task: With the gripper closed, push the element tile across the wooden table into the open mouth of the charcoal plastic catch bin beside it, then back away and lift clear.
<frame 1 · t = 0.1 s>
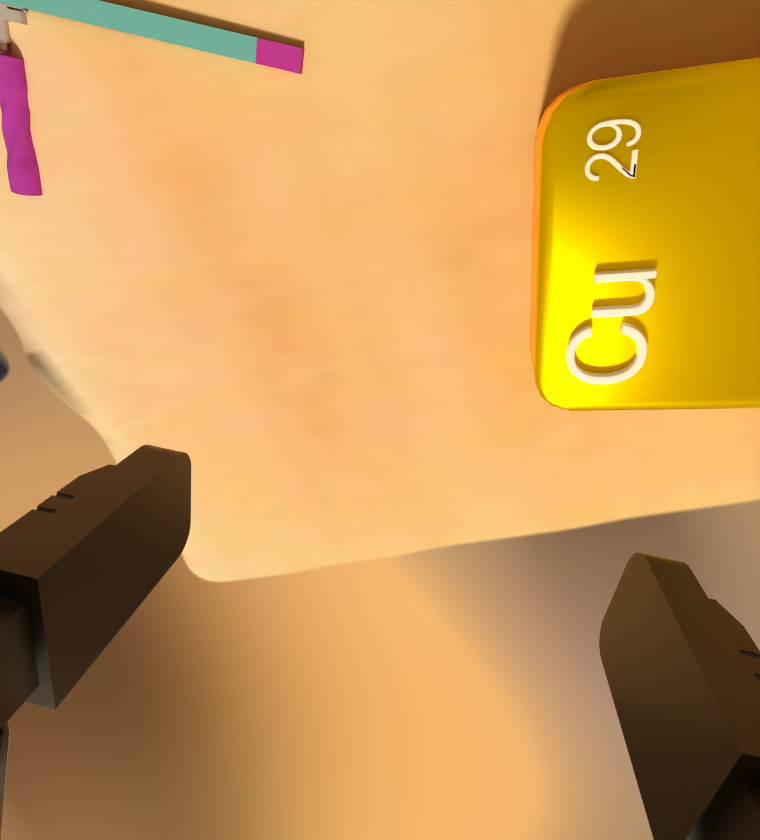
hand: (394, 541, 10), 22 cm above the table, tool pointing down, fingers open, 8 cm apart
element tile: (683, 240, 27), on the table
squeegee: (51, 100, 29), on the table
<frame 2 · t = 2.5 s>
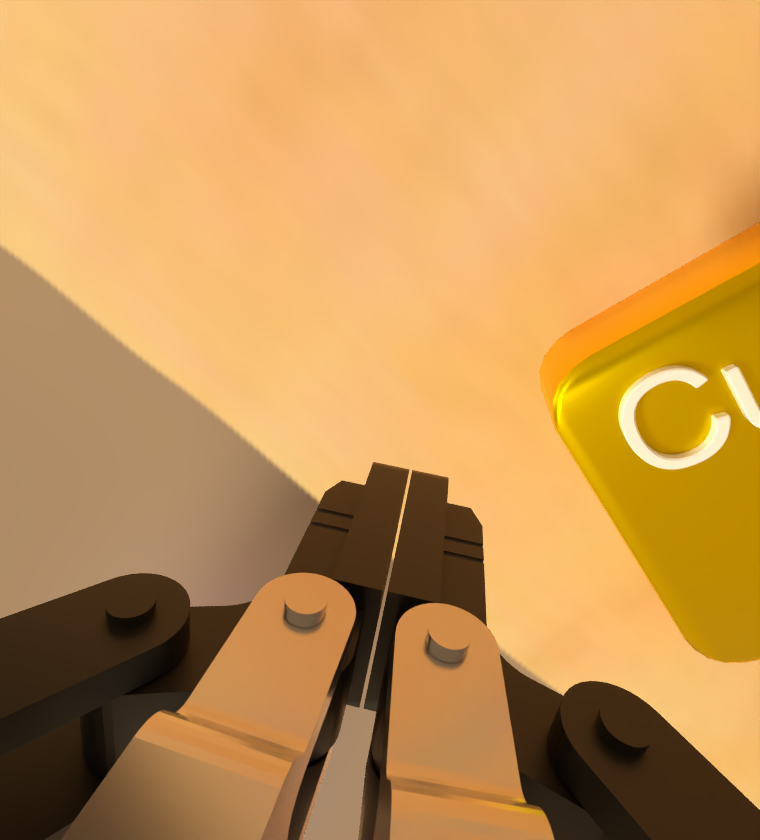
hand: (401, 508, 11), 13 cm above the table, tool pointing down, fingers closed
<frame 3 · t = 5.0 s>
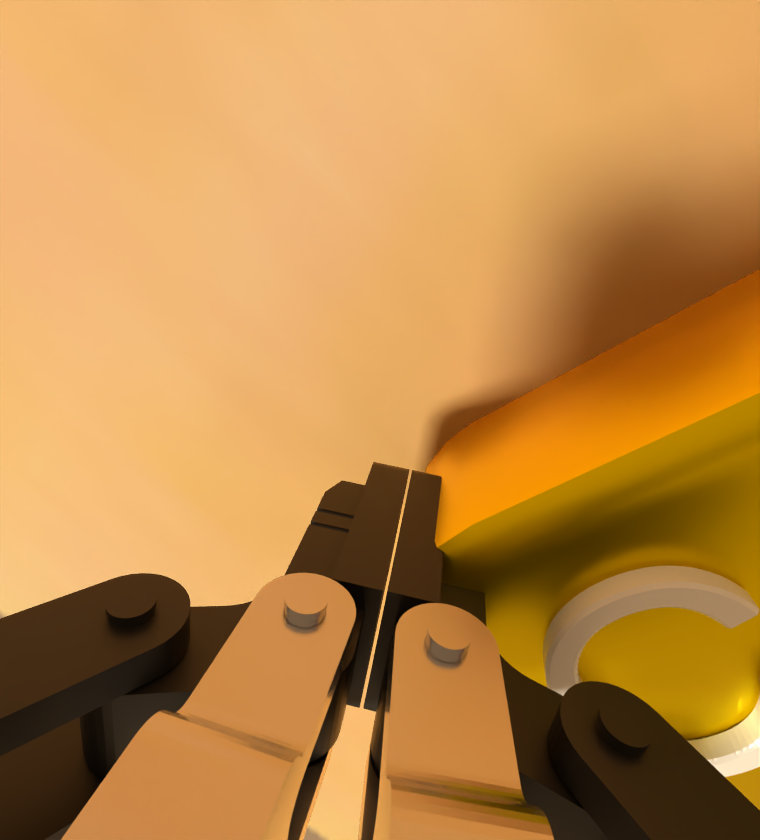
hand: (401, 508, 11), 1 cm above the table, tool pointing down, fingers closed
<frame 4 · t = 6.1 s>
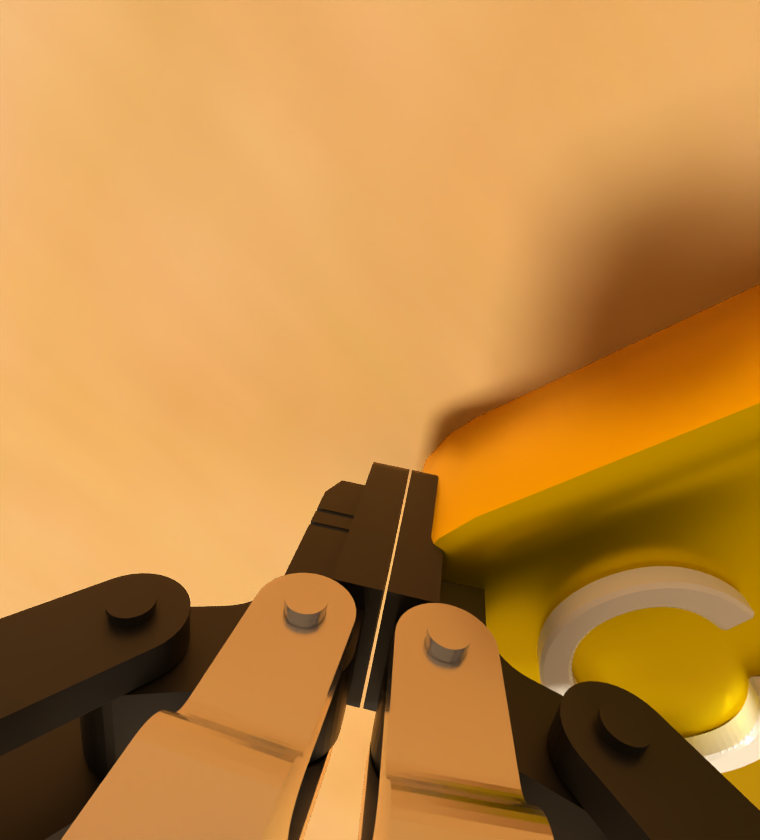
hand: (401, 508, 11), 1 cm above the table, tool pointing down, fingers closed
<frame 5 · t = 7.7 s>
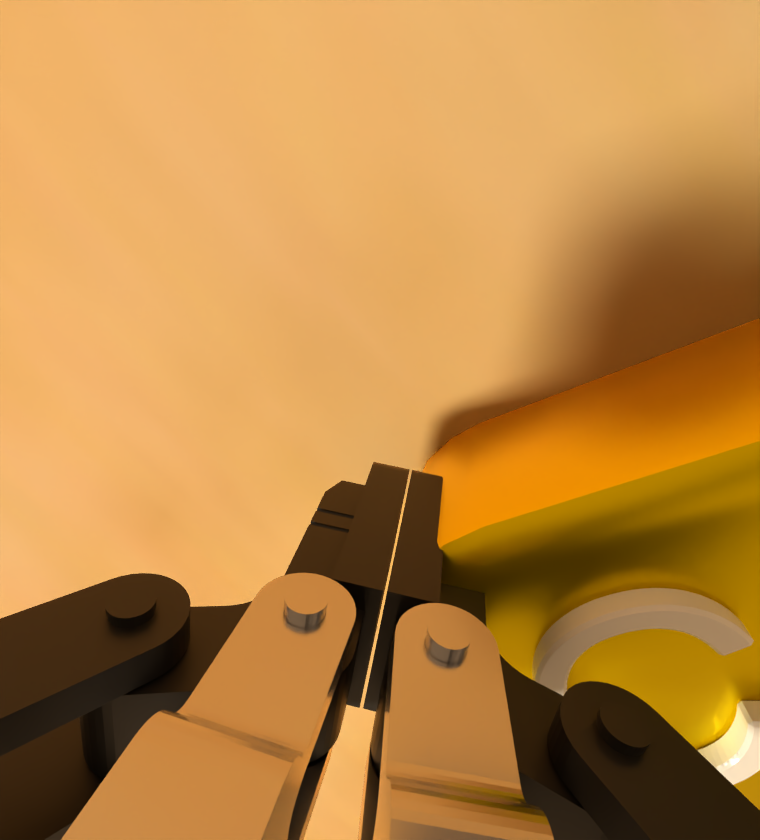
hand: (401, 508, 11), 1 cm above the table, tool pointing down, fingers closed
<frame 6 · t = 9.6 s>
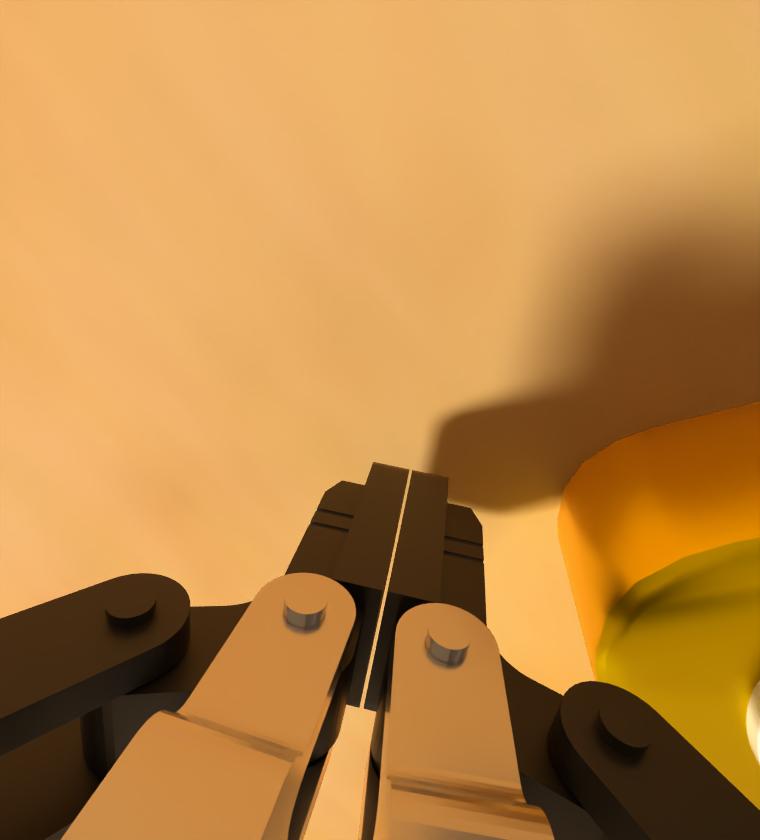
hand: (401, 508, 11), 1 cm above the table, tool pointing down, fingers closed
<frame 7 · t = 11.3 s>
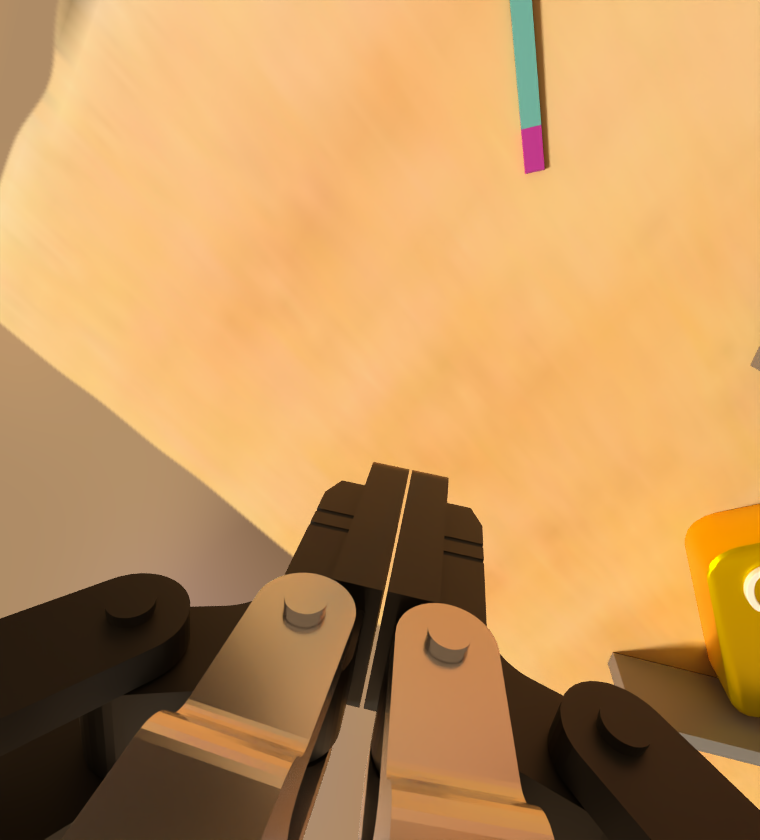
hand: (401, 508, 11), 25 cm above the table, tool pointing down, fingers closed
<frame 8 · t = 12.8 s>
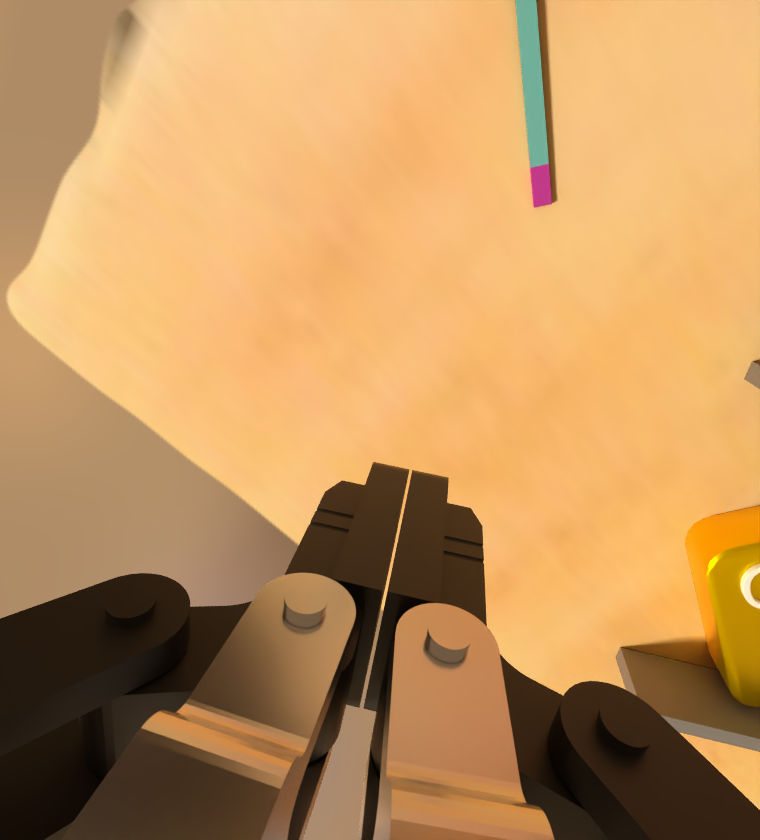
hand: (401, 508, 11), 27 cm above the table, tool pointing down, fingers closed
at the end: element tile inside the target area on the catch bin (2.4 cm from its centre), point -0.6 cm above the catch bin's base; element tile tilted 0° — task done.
